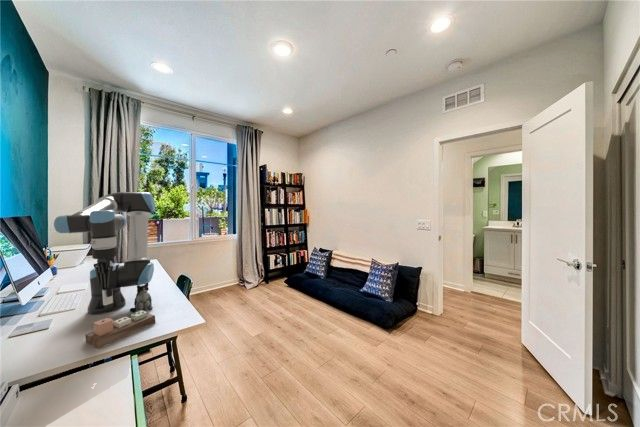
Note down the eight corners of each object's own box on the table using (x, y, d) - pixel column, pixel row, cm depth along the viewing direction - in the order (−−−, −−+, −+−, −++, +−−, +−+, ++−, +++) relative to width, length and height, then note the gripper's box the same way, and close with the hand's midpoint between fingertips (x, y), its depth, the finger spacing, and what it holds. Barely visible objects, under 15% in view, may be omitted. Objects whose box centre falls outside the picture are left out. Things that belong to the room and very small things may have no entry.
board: (85, 342, 95) (85, 334, 95) (142, 318, 114) (142, 311, 114) (98, 348, 91) (97, 340, 90) (155, 322, 110) (154, 315, 110)
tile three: (131, 325, 107) (130, 314, 107) (142, 320, 111) (141, 309, 111) (137, 327, 105) (136, 315, 105) (147, 322, 109) (146, 311, 109)
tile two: (114, 332, 101) (113, 320, 101) (126, 327, 105) (125, 316, 105) (119, 334, 99) (119, 322, 99) (131, 329, 103) (131, 318, 103)
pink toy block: (94, 334, 95) (93, 322, 95) (107, 329, 99) (107, 317, 99) (100, 337, 93) (99, 324, 93) (113, 331, 97) (112, 319, 97)
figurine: (131, 318, 114) (129, 288, 113) (127, 311, 121) (125, 283, 120) (154, 310, 122) (153, 282, 121) (149, 305, 128) (147, 278, 127)
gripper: (84, 248, 95) (87, 305, 96) (102, 250, 90) (105, 310, 91) (106, 245, 102) (110, 298, 103) (124, 247, 97) (127, 302, 98)
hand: (108, 303), depth 97 cm, fingers closed
